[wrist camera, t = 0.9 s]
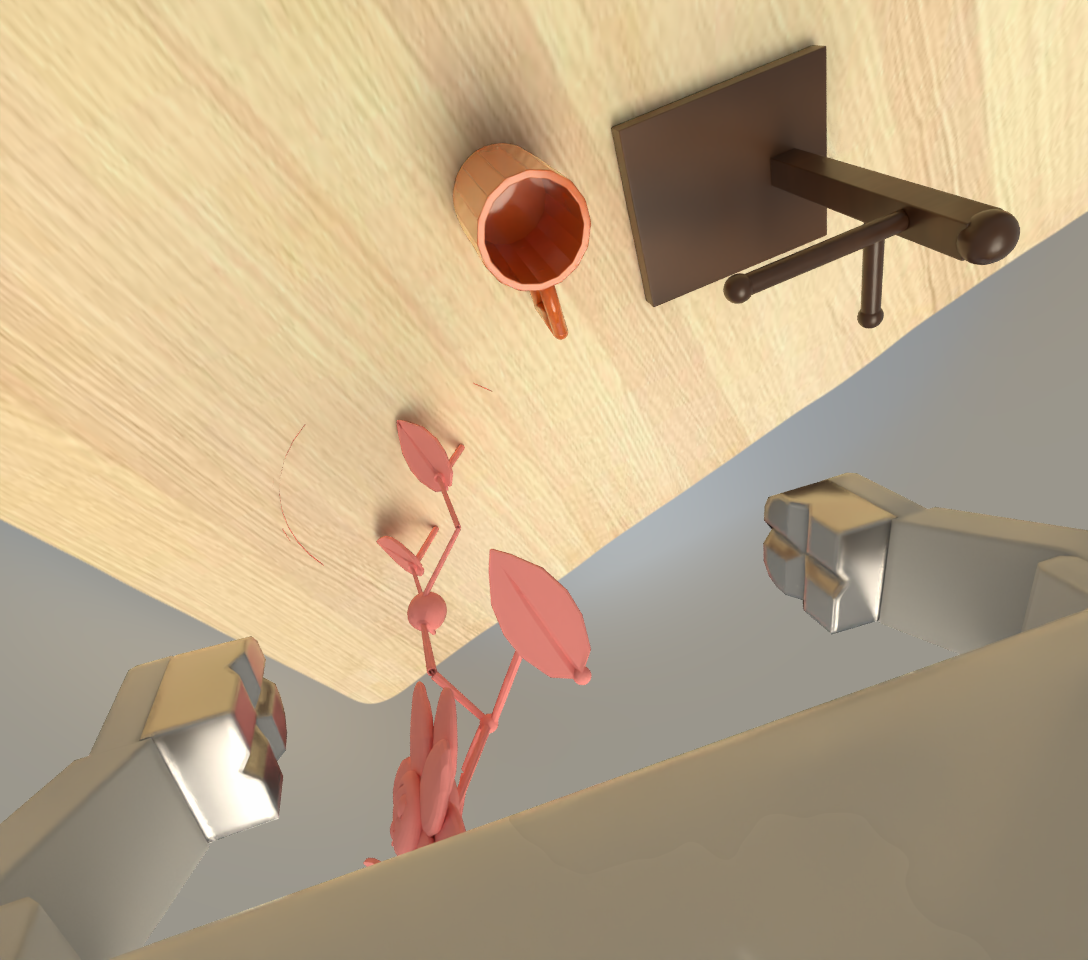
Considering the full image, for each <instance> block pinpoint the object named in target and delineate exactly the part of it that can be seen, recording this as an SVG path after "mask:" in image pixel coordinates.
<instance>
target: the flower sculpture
mask: <svg viewBox="0 0 1088 960" xmlns="http://www.w3.org/2000/svg"><path fill="white" fill-rule="evenodd" d="M474 384H475V383H474ZM476 385H477V384H476ZM478 386H480V385H478ZM480 387H482V386H480ZM483 388H484V387H483ZM485 389H486V388H485ZM487 390H489V389H487ZM489 391H491V390H489ZM413 424H414V423H413ZM413 424H411V422H410V423H408V422H407V421H403V420H397V430H398V436H399V440H400V445H401V450H402V454H403V456H404V458H405V460H406V462H407V464H408V466H409V468H410V470H411V471H412V473H413V474H414V475H415V476H416V477H417V478H418V480H419V481H420V482H421V483H423V484H424V485H426V486H427V487H429V488H430V489H432V490H433V491H435V492H439V491H442V494H443V496H444V499H445V502H446V504H447V507H448V509H449V512H450V515H451V517H452V520H453V523H454V525H455V528H456V530H455V532H454V534H453V536H452V538H451V539H450V541H449V543H448V545H447V547H446V549H445V551H444V553H443V555H442V557H441V559H440V561H439V563H438V565H437V567H436V569H435V571H434V573H433V575H432V577H431V579H430V581H429V583H428V585H427V586H426V588H425V590H424V592H422V589H421V586H420V583H419V580H418V577H417V576H422V575H423V574H424V568H423V567H422V564H421V563H420V561H421V559H422V558H423V556H424V554H425V552H426V551H427V549H428V547H429V546H430V544H431V542H432V541H433V539H434V537H435V536H436V534H437V532H438V530H439V528H438V527H436V526H435V527H433V529H432V531H431V532H430V534H429V536H428V537H427V539H426V541H425V542H424V544H423V545H422V547H421V549H420V550H419V552H418V554H417V555H416V556H415V555H414V554H413V553H412V552H411V551H410V550H408V549H407V548H406V547H405V546H404V545H403V544H402V543H400V542H399V541H397V540H396V539H395V538H393V537H390V536H383V537H381V538H379V539H378V540H377V541H376V542H377V543H378V544H379V545H380V546H381V547H382V548H383V550H384V551H385V552H386V553H387V554H388V555H389V556H390V557H391V558H392V559H393V560H394V561H395V562H396V563H397V564H399V565H400V566H401V567H402V568H403V569H404V570H406V571H407V572H409V573H411V574H413V577H414V580H415V583H416V587H417V590H418V593H419V594H418V595H416V596H415V597H414V598H413V599H412V601H411V602H410V604H409V607H408V612H407V615H408V620H409V623H410V624H411V625H412V626H413V627H414V628H415V629H417V630H420V631H422V639H423V646H424V653H425V661H426V668H427V673H428V675H429V676H432V678H431V679H432V680H433V681H435V682H436V683H437V684H438V685H439V686H441V687H442V688H443V690H442V692H441V695H440V698H439V701H438V706H437V711H436V716H435V722H434V727H433V717H432V711H431V706H430V702H429V700H428V697H427V692H426V688H425V686H424V684H423V683H422V682H420V681H419V682H417V684H416V686H415V688H414V692H413V700H412V711H411V729H410V757H408V758H406V759H404V760H403V761H402V762H401V764H400V766H399V769H398V771H397V774H396V777H395V781H394V788H393V804H394V807H393V821H392V824H391V828H390V834H391V837H392V839H393V842H392V846H393V845H394V850H395V853H396V854H397V856H399V855H402V854H404V853H407V852H410V851H413V850H416V849H418V848H421V847H424V846H427V845H430V844H432V843H435V842H438V841H441V840H444V839H446V838H449V837H452V836H455V835H458V834H460V833H463V832H466V830H465V826H464V823H463V820H462V812H463V806H464V800H465V795H466V791H467V788H468V786H469V783H470V781H471V778H472V776H473V773H474V770H475V768H476V766H477V763H478V761H479V758H480V756H481V753H482V751H483V748H484V746H485V743H486V740H487V738H488V736H489V733H492V732H494V731H495V730H496V729H497V727H498V719H499V717H500V714H501V712H502V709H503V706H504V704H505V701H506V699H507V696H508V694H509V691H510V688H511V686H512V683H513V681H514V678H515V675H516V673H517V670H518V668H519V665H520V663H521V660H522V658H523V659H525V660H526V661H527V662H529V663H530V664H532V665H533V666H535V667H536V668H537V669H539V670H540V671H542V672H543V673H545V674H546V675H548V676H549V677H551V678H568V679H574V681H575V682H576V683H577V684H579V685H585V684H587V683H588V682H589V681H590V679H591V672H590V670H589V669H588V668H587V667H585V665H586V662H587V659H588V656H589V653H590V651H591V648H590V644H589V640H588V635H587V632H586V627H585V623H584V620H583V615H582V613H581V612H580V610H579V608H578V607H577V605H576V604H575V602H574V600H573V599H572V597H571V595H570V594H569V592H568V591H567V589H565V588H564V587H563V586H562V585H561V584H560V583H559V582H558V581H557V580H556V579H555V578H554V577H552V576H551V575H550V574H549V573H548V572H547V571H546V570H545V569H544V568H542V567H540V566H538V565H535V564H533V563H531V562H528V561H526V560H524V559H521V558H519V557H517V556H514V555H512V554H509V553H506V552H502V551H499V550H495V549H490V554H489V581H490V594H491V606H492V608H493V610H494V613H495V615H496V618H497V620H498V622H499V625H500V627H501V629H502V632H503V634H504V636H505V637H506V639H507V640H508V641H509V642H510V644H511V645H512V646H513V647H514V649H515V650H516V651H515V653H514V656H513V659H512V661H511V664H510V666H509V669H508V672H507V674H506V677H505V679H504V682H503V684H502V687H501V690H500V693H499V696H498V698H497V701H496V704H495V707H494V709H493V712H492V714H486V715H485V714H484V713H482V712H481V711H480V710H479V709H478V708H477V707H476V706H475V705H474V704H473V703H471V702H470V701H469V700H468V699H467V698H466V697H465V696H464V695H463V694H461V692H459V691H458V690H457V689H456V688H455V687H454V686H453V685H452V684H451V683H449V682H448V681H447V680H446V679H445V678H444V677H443V676H442V675H441V674H440V673H439V672H437V669H436V665H435V661H434V656H433V652H432V647H431V643H430V639H429V634H428V632H430V633H431V634H432V635H435V634H436V631H435V629H437V628H439V627H440V626H441V625H442V623H443V622H444V620H445V617H446V613H447V607H446V603H445V601H444V600H443V598H442V597H441V596H440V595H438V594H436V593H434V592H430V590H431V588H432V586H433V584H434V582H435V580H436V578H437V576H438V574H439V572H440V570H441V568H442V566H443V564H444V562H445V560H446V558H447V556H448V554H449V552H450V550H451V548H452V546H453V544H454V542H455V540H456V538H457V536H458V534H459V532H460V530H461V529H460V528H461V526H460V523H459V521H458V518H457V516H456V514H455V511H454V509H453V506H452V504H451V501H450V499H449V496H448V494H447V490H448V486H449V487H450V486H452V477H453V471H452V467H453V465H454V464H455V462H456V461H457V459H458V458H459V456H460V455H461V453H462V452H463V450H464V448H465V447H464V445H462V444H461V445H459V446H458V448H457V449H456V450H455V452H454V453H453V455H452V456H451V458H450V459H449V460H448V457H447V454H446V452H445V450H444V449H443V447H442V445H441V444H440V442H439V441H438V439H437V438H436V437H435V436H433V435H432V434H431V433H430V432H429V431H428V430H427V429H425V428H424V427H422V426H420V425H417V424H415V425H413ZM416 425H417V426H416ZM304 426H305V425H304ZM304 426H303V427H304ZM302 429H303V428H302ZM302 429H301V430H302ZM299 433H300V432H299ZM299 433H298V434H299ZM296 437H297V436H296ZM296 437H295V438H296ZM294 440H295V439H294ZM294 440H293V441H294ZM292 443H293V442H292ZM291 445H292V444H291ZM290 447H291V446H290ZM289 449H290V448H289ZM288 451H289V450H288ZM287 453H288V452H287ZM286 455H287V454H286ZM284 460H285V459H284ZM283 464H284V463H283ZM282 468H283V467H282ZM281 472H282V471H281ZM279 493H280V491H279ZM279 496H280V494H279ZM280 502H281V500H280ZM281 508H282V506H281ZM282 513H283V511H282ZM283 515H284V514H283ZM284 518H285V516H284ZM285 520H286V519H285ZM286 523H287V522H286ZM287 525H288V524H287ZM288 528H289V527H288ZM289 529H290V528H289ZM283 531H284V530H283ZM290 531H291V530H290ZM284 533H285V532H284ZM291 533H292V531H291ZM285 534H286V533H285ZM292 534H293V533H292ZM286 536H287V535H286ZM293 536H294V535H293ZM294 537H295V536H294ZM288 539H289V538H288ZM295 539H296V538H295ZM296 540H297V539H296ZM297 542H298V541H297ZM298 543H299V542H298ZM299 544H300V543H299ZM300 545H301V544H300ZM301 546H302V545H301ZM302 547H303V546H302ZM303 549H304V550H305V548H304V547H303ZM305 551H306V550H305ZM306 552H307V551H306ZM307 553H308V552H307ZM308 554H309V553H308ZM309 555H310V554H309ZM310 556H311V557H313V556H312V555H310ZM313 558H314V557H313ZM314 559H315V560H317V559H316V558H314ZM317 561H318V560H317ZM318 562H319V561H318ZM319 563H321V562H319ZM321 564H322V563H321ZM322 565H323V564H322ZM323 566H324V565H323ZM454 698H455V699H456V700H457V701H458V702H459V703H461V704H462V705H463V706H464V707H465V708H467V709H468V710H469V711H470V712H471V713H472V714H474V715H475V716H476V717H477V718H478V719H480V725H479V727H478V729H477V732H476V734H475V736H474V739H473V741H472V743H471V746H470V748H469V751H468V753H467V755H466V758H465V761H464V763H463V766H462V771H463V772H464V773H461V777H460V782H459V785H458V787H457V786H456V782H455V779H454V778H455V774H456V766H457V765H456V764H457V746H458V745H457V716H456V715H457V714H456V705H455V700H454ZM379 862H381V861H379V860H377V859H375V858H368V859H366V860H365V862H364V864H365V865H366V866H367V867H368V866H371V865H374V864H376V863H379Z"/></svg>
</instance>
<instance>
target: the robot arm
mask: <svg viewBox="0 0 1088 960" xmlns="http://www.w3.org/2000/svg"><path fill="white" fill-rule="evenodd" d="M764 521H765V522H766V523H767V524H768V525H769V526H770V527H771V529H772V530H771V532H770V533H769V535H768V537H767V538H766V540H765V542H764V543H763V544H764V563H765V566H766V569H767V571H768V574H769V577H770V578H771V580H772V581H773V582H774V584H775V585H776V586H777V587H778V588H779V589H780V590H781V591H782V592H783V593H784V594H785V595H788V596H791V597H795V598H798V599H801V600H803V609H804V611H805V612H806V613H807V614H809V615H810V616H811V617H812V618H813V619H814V620H816V621H817V622H818V623H819V624H820V625H821V626H823V627H824V628H825V629H826V630H827V631H828V632H830V633H831V634H835V633H838V632H841V631H845V630H848V629H851V628H855V627H858V626H861V625H865V624H868V623H872V622H875V621H878V620H879V623H881V624H884V625H886V626H889V627H891V628H894V629H896V630H899V631H902V632H904V633H906V634H909V635H912V636H914V637H917V638H919V639H922V640H924V641H927V642H929V643H932V644H935V645H937V646H940V647H942V648H945V649H947V650H950V651H953V652H955V653H958V654H960V655H958V656H955V657H952V658H949V659H947V660H944V661H941V662H938V663H935V664H933V665H930V666H927V667H924V668H921V669H919V670H916V671H913V672H910V673H907V674H904V675H902V676H899V677H896V678H893V679H890V680H888V681H885V682H882V683H879V684H876V685H874V686H871V687H868V688H865V689H862V690H860V691H857V692H854V693H851V694H848V695H845V696H843V697H840V698H837V699H834V700H831V701H829V702H826V703H823V704H820V705H818V706H815V707H812V708H809V709H806V710H803V711H801V712H798V713H795V714H792V715H789V716H786V717H784V718H781V719H778V720H775V721H772V722H770V723H767V724H764V725H761V726H758V727H756V728H753V729H750V730H747V731H745V732H742V733H739V734H736V735H733V736H731V737H728V738H726V739H723V740H719V741H717V742H714V743H711V744H708V745H706V746H703V747H700V748H697V749H694V750H692V751H689V752H686V753H683V754H681V755H678V756H675V757H672V758H669V759H667V760H664V761H661V762H658V763H656V764H653V765H650V766H647V767H645V768H642V769H639V770H636V771H633V772H630V773H628V774H625V775H622V776H619V777H617V778H614V779H611V780H608V781H606V782H603V783H600V784H597V785H594V786H592V787H589V788H586V789H583V790H581V791H578V792H575V793H572V794H569V795H567V796H564V797H561V798H559V799H555V800H553V801H550V802H547V803H545V804H541V805H539V806H536V807H533V808H530V809H528V810H525V811H522V812H519V813H516V814H514V815H511V816H508V817H505V818H502V819H500V820H497V821H494V822H491V823H488V824H486V825H483V826H480V827H477V828H474V829H472V830H469V831H466V832H463V833H460V834H458V835H455V836H452V837H449V838H446V839H444V840H441V841H438V842H435V843H432V844H430V845H427V846H424V847H421V848H418V849H416V850H413V851H410V852H407V853H404V854H402V855H399V856H396V857H393V858H391V859H388V860H385V861H382V862H379V863H376V864H374V865H371V866H368V867H365V868H362V869H360V870H357V871H354V872H351V873H348V874H346V875H343V876H340V877H337V878H334V879H332V880H329V881H326V882H323V883H320V884H318V885H315V886H312V887H309V888H307V889H304V890H301V891H298V892H296V893H292V894H290V895H287V896H284V897H282V898H278V899H276V900H273V901H270V902H267V903H265V904H262V905H259V906H256V907H253V908H250V909H248V910H245V911H242V912H239V913H236V914H234V915H231V916H228V917H226V918H223V919H220V920H217V921H214V922H211V923H208V924H206V925H203V926H200V927H197V928H194V929H192V930H189V931H186V932H183V933H181V934H178V935H175V936H172V937H169V938H167V939H164V940H161V941H158V942H155V943H152V944H150V945H147V946H144V944H145V943H146V941H147V940H148V938H149V936H150V935H151V934H152V932H153V931H154V929H155V927H156V926H157V925H158V923H159V922H160V920H161V918H162V917H163V915H164V914H165V913H166V911H167V910H168V908H169V907H170V905H171V904H172V902H173V901H174V899H175V897H176V896H177V895H178V893H179V891H180V890H181V889H182V887H183V886H184V884H185V883H186V881H187V879H188V878H189V877H190V875H191V874H192V872H193V871H194V869H195V868H196V866H197V865H198V863H199V862H200V860H201V859H202V857H203V856H204V854H205V853H206V851H207V850H208V848H209V844H208V843H210V842H213V841H216V840H219V839H221V838H224V837H227V836H230V835H232V834H235V833H238V832H241V831H243V830H246V829H249V828H252V827H255V826H258V825H260V824H263V823H266V822H268V821H271V820H274V819H277V818H279V810H280V801H281V792H282V782H283V775H282V772H281V770H280V768H279V765H278V763H277V761H278V759H279V758H280V757H281V755H282V754H283V753H284V752H285V751H286V739H287V730H286V719H285V712H284V708H283V704H282V701H281V697H280V694H279V692H278V689H277V687H276V684H275V683H273V682H271V681H269V680H267V679H265V678H263V674H264V667H265V661H266V659H265V657H264V655H263V653H262V650H261V648H260V646H259V644H258V641H257V640H255V639H254V638H253V637H252V636H250V637H246V638H242V639H238V640H234V641H230V642H226V643H222V644H218V645H214V646H210V647H206V648H202V649H198V650H195V651H191V652H186V653H182V654H178V655H176V656H169V657H166V658H162V659H159V660H155V661H151V662H148V663H144V664H141V665H137V666H135V667H134V668H132V669H130V670H129V671H128V672H127V674H126V676H125V679H124V681H123V683H122V685H121V687H120V689H119V692H118V694H117V696H116V698H115V700H114V703H113V705H112V707H111V709H110V711H109V713H108V715H107V718H106V720H105V722H104V724H103V726H102V728H101V730H100V732H99V735H98V737H97V739H96V741H95V743H94V746H93V748H92V750H91V752H90V755H89V756H87V757H84V758H80V759H77V760H75V761H73V762H72V763H71V764H70V765H69V766H68V767H66V768H65V769H64V770H63V771H62V772H61V773H59V774H58V775H57V776H56V777H55V778H54V779H52V780H51V781H50V782H49V783H48V784H47V785H46V786H44V787H43V788H42V789H41V790H40V791H38V792H37V793H36V794H35V795H34V796H32V797H31V798H30V799H29V800H28V801H27V802H25V803H24V804H23V805H22V806H21V807H20V808H18V809H17V810H16V811H15V812H14V813H13V814H12V815H10V816H9V817H8V818H7V819H6V820H4V821H3V822H2V823H1V824H0V960H1088V530H1082V529H1075V528H1069V527H1062V526H1056V525H1050V524H1043V523H1037V522H1030V521H1024V520H1017V519H1011V518H1004V517H997V516H991V515H985V514H978V513H972V512H965V511H959V510H952V509H945V508H939V507H934V508H931V509H926V508H924V507H922V506H920V505H918V504H916V503H914V502H912V501H910V500H908V499H906V498H905V497H903V496H901V495H899V494H897V493H895V492H893V491H891V490H889V489H887V488H885V487H883V486H880V485H878V484H877V483H875V482H873V481H870V480H869V479H867V478H864V477H863V476H861V475H859V474H857V473H845V474H842V475H839V476H835V477H832V478H829V479H826V480H823V481H820V482H817V483H814V484H810V485H807V486H803V487H800V488H797V489H794V490H790V491H787V492H784V493H780V494H777V495H774V496H770V497H768V499H767V502H766V504H765V512H764ZM143 946H144V947H143Z"/></svg>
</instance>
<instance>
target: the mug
mask: <svg viewBox="0 0 1088 960" xmlns="http://www.w3.org/2000/svg"><path fill="white" fill-rule="evenodd" d="M453 203H454V209H455V213H456V216H457V218H458V220H459V223H460V225H461V228H462V229H463V231H464V232H465V234H466V236H467V237H468V239H469V241H470V242H471V244H472V245H473V247H474V249H475V250H476V252H477V254H478V255H479V257H480V258H481V260H482V262H483V263H484V265H485V267H486V268H487V269H488V270H489V271H490V272H491V273H492V274H493V275H494V276H495V277H496V278H497V280H498V281H499V282H501V283H503V284H505V285H507V286H510V287H512V288H514V289H517V290H520V291H529V292H530V295H531V298H532V301H533V304H534V307H535V309H536V311H537V312H538V313H539V315H540V316H541V318H542V319H543V321H544V322H545V324H546V325H547V326H548V328H549V329H550V331H551V332H552V334H553V335H554V336H555V338H557V339H559V340H562V339H565V338H566V337H567V335H568V329H567V326H566V322H565V319H564V316H563V312H562V309H561V306H560V303H559V299H558V296H557V293H556V289H555V286H554V285H556V284H558V283H560V282H562V281H563V280H564V279H565V278H566V277H567V276H568V275H569V274H570V273H572V272H573V271H574V270H575V269H576V268H577V266H578V265H579V263H580V261H581V259H582V257H583V255H584V253H585V251H586V249H587V247H588V243H589V235H590V227H591V220H590V216H589V212H588V208H587V204H586V200H585V198H584V197H583V196H582V194H581V193H580V192H579V190H578V189H577V188H576V186H575V185H574V184H573V182H572V181H571V180H569V179H568V178H566V177H565V176H564V175H562V174H561V173H559V172H558V171H556V170H555V169H554V168H552V167H551V166H549V165H548V164H546V163H545V162H544V161H542V160H541V159H539V158H538V157H536V156H535V155H534V154H532V153H530V152H528V151H526V150H525V149H523V148H521V147H519V146H517V145H513V144H508V143H496V144H490V145H487V146H485V147H483V148H480V149H479V150H477V151H476V152H474V153H473V154H472V155H471V156H470V157H469V158H468V159H467V160H466V161H465V162H464V164H463V165H462V167H461V168H460V170H459V172H458V174H457V177H456V180H455V184H454V189H453Z"/></svg>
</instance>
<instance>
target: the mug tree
mask: <svg viewBox="0 0 1088 960" xmlns="http://www.w3.org/2000/svg"><path fill="white" fill-rule="evenodd" d="M611 129H612V134H613V139H614V144H615V149H616V154H617V159H618V164H619V169H620V173H621V178H622V183H623V188H624V193H625V198H626V203H627V208H628V213H629V217H630V222H631V227H632V232H633V237H634V242H635V247H636V252H637V257H638V262H639V266H640V271H641V276H642V281H643V286H644V291H645V296H646V301H647V302H649V303H650V304H651V305H652V306H653V307H656V306H658V305H660V304H663V303H665V302H668V301H670V300H672V299H675V298H677V297H680V296H682V295H684V294H687V293H689V292H692V291H694V290H696V289H699V288H701V287H704V286H706V285H708V284H711V283H713V282H716V281H718V280H720V279H723V278H725V277H727V276H730V275H732V274H734V275H732V276H731V277H729V278H728V279H727V281H726V282H725V284H724V289H723V290H724V295H725V297H726V299H727V300H728V301H730V302H732V303H736V304H739V303H743V302H745V301H747V300H748V299H749V298H750V297H751V295H753V294H755V293H757V292H760V291H762V290H765V289H767V288H769V287H772V286H774V285H777V284H779V283H781V282H784V281H786V280H788V279H791V278H793V277H796V276H798V275H800V274H803V273H805V272H808V271H810V270H812V269H815V268H817V267H820V266H822V265H824V264H827V263H829V262H831V261H834V260H836V259H839V258H841V257H843V256H846V255H848V254H851V253H853V252H855V251H858V250H860V249H862V248H863V262H862V290H861V309H860V311H859V312H858V316H857V320H858V323H859V324H860V325H861V326H862V327H864V328H874V327H876V326H878V325H879V324H880V323H881V322H882V320H883V317H884V313H883V310H882V309H881V295H882V278H883V261H884V244H885V239H886V238H889V237H891V236H894V235H897V236H900V237H902V238H905V239H908V240H910V241H913V242H915V243H918V244H920V245H923V246H925V247H928V248H930V249H933V250H935V251H938V252H940V253H943V254H946V255H948V256H951V257H953V258H956V259H958V260H961V261H963V260H966V261H968V262H970V263H973V264H978V265H986V264H991V263H994V262H997V261H999V260H1001V259H1003V258H1004V257H1006V256H1007V255H1008V254H1009V253H1010V252H1011V251H1012V250H1013V249H1014V247H1015V246H1016V244H1017V242H1018V240H1019V236H1020V227H1019V223H1018V221H1017V220H1016V218H1015V217H1014V216H1013V215H1012V214H1010V213H1009V212H1007V211H1004V210H1003V209H1001V208H997V207H994V206H991V205H987V204H984V203H980V202H977V201H974V200H970V199H967V198H963V197H960V196H957V195H953V194H950V193H946V192H943V191H940V190H936V189H933V188H929V187H926V186H923V185H919V184H916V183H912V182H909V181H906V180H902V179H899V178H895V177H892V176H889V175H885V174H882V173H878V172H875V171H872V170H868V169H865V168H861V167H858V166H855V165H851V164H848V163H844V162H841V161H838V160H834V159H831V158H827V128H826V46H818V45H812V46H810V47H807V48H805V49H802V50H800V51H797V52H795V53H793V54H790V55H788V56H785V57H783V58H780V59H778V60H776V61H773V62H771V63H768V64H766V65H763V66H761V67H758V68H756V69H754V70H751V71H749V72H746V73H744V74H741V75H739V76H736V77H734V78H732V79H729V80H727V81H724V82H722V83H719V84H717V85H714V86H712V87H710V88H707V89H705V90H702V91H700V92H697V93H695V94H692V95H690V96H688V97H685V98H683V99H680V100H678V101H675V102H673V103H670V104H668V105H666V106H663V107H661V108H658V109H656V110H653V111H651V112H648V113H646V114H644V115H641V116H639V117H636V118H634V119H631V120H629V121H626V122H624V123H622V124H619V125H617V126H614V127H612V128H611ZM827 208H829V209H832V210H834V211H837V212H839V213H842V214H844V215H847V216H849V217H852V218H854V219H857V220H859V221H862V222H864V224H863V225H861V226H859V227H856V228H854V229H851V230H849V231H847V232H844V233H842V234H839V235H837V236H835V237H832V238H830V239H828V240H825V241H823V242H820V243H818V244H816V245H813V246H811V247H808V248H806V249H804V250H801V251H799V252H796V253H794V254H792V255H789V256H787V257H784V258H782V259H780V260H777V261H775V262H772V263H770V264H768V265H765V266H763V267H761V268H758V269H756V270H753V271H751V272H749V273H746V274H741V273H739V274H735V273H737V272H739V271H742V270H744V269H747V268H749V267H751V266H754V265H756V264H759V263H761V262H763V261H766V260H768V259H771V258H773V257H775V256H778V255H780V254H783V253H785V252H787V251H790V250H792V249H795V248H797V247H799V246H802V245H804V244H806V243H809V242H811V241H814V240H816V239H818V238H821V237H823V236H826V235H827Z"/></svg>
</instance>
